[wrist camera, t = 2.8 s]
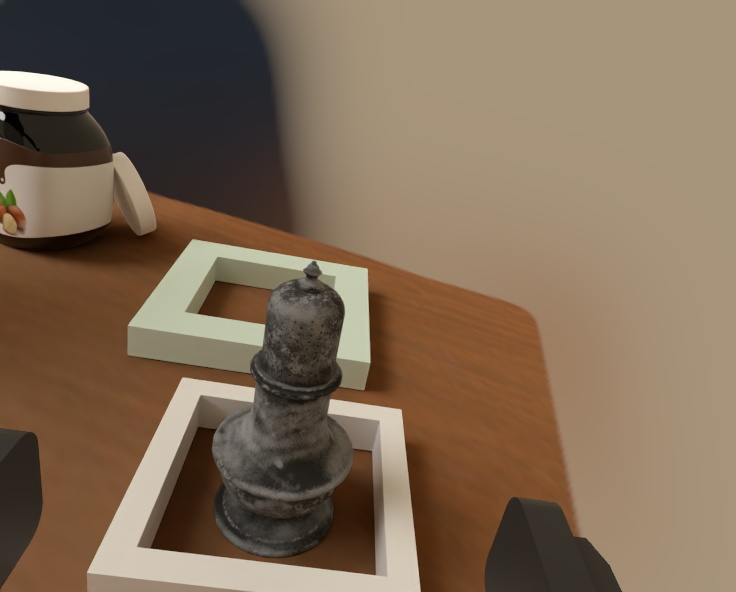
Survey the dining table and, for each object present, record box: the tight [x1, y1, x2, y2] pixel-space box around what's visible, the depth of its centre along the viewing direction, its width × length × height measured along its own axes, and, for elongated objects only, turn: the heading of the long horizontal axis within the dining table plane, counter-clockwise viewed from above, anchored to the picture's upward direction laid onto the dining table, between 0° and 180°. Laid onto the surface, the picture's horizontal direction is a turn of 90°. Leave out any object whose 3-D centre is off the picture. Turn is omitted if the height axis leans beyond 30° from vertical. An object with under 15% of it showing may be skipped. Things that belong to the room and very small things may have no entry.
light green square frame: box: [128, 239, 370, 390], centre depth 40 cm, size 14×14×2 cm
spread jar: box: [0, 71, 156, 251], centre depth 44 cm, size 12×11×12 cm
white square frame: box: [87, 378, 421, 592], centre depth 25 cm, size 11×11×2 cm
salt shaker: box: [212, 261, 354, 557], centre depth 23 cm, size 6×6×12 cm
